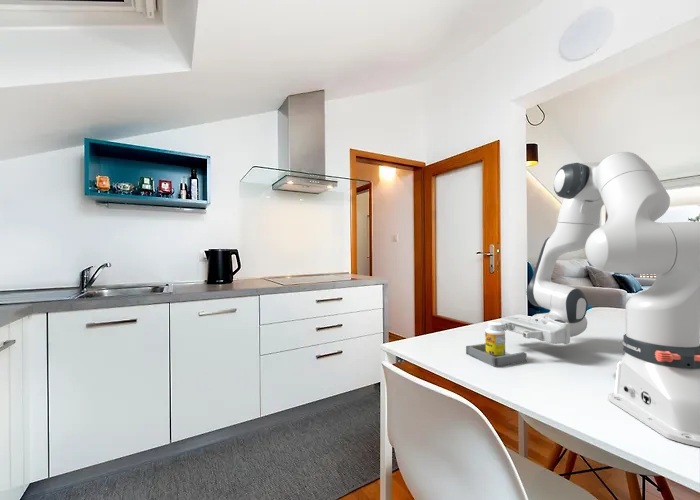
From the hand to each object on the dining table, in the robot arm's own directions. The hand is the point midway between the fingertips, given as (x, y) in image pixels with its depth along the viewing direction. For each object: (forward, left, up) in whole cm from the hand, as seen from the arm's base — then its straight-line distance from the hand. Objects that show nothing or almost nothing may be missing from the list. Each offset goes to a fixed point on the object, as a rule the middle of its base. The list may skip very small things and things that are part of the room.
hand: (512, 331), depth 98 cm
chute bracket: (-4, +6, -7) cm, 10 cm away
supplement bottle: (-4, +6, -7) cm, 10 cm away
